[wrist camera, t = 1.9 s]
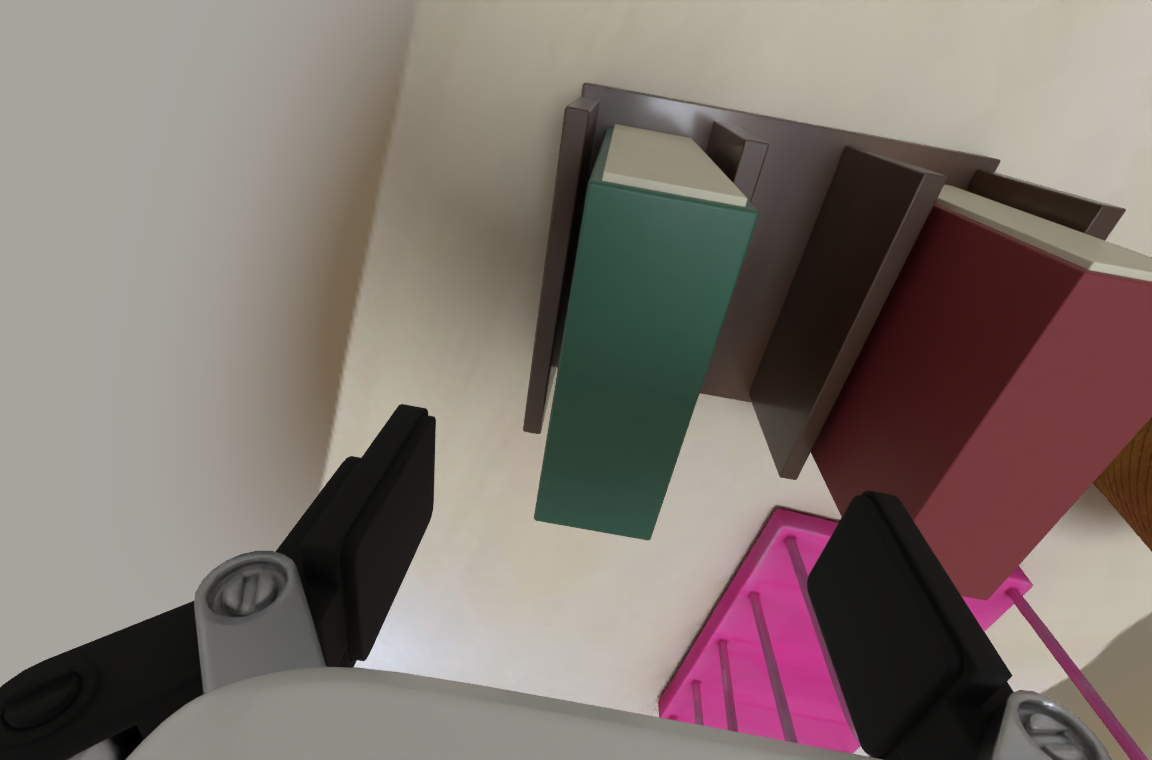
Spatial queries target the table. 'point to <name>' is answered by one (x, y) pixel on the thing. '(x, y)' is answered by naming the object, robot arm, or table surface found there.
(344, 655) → the robot arm
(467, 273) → the table surface
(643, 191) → the green book
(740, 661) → the file sorter
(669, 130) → the book rack
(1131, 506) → the disposable coffee cup
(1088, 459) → the burgundy book
